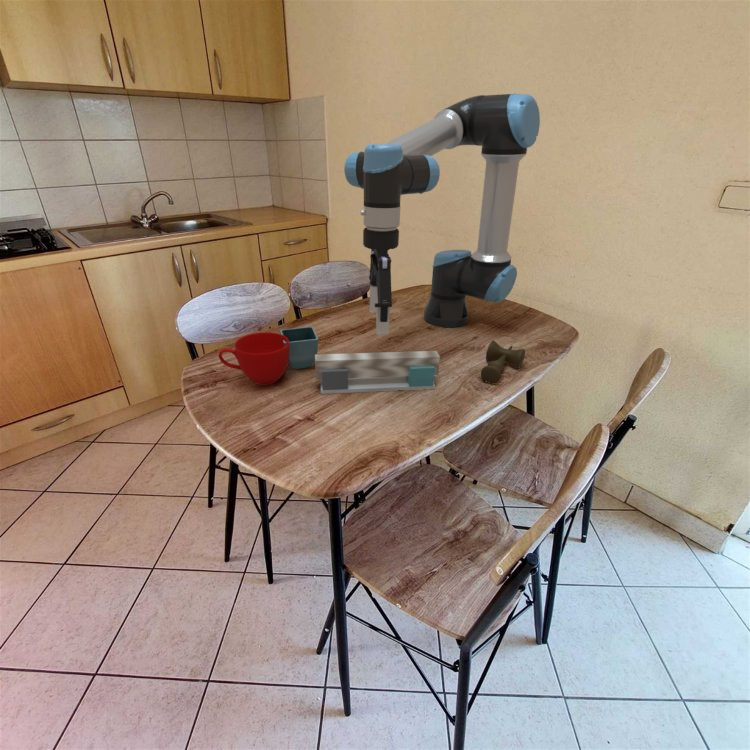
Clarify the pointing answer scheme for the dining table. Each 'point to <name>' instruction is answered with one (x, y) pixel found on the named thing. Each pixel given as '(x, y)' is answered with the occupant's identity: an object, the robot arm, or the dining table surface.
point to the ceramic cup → (260, 356)
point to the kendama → (500, 361)
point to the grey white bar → (376, 363)
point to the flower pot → (301, 346)
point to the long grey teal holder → (376, 381)
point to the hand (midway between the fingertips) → (378, 322)
